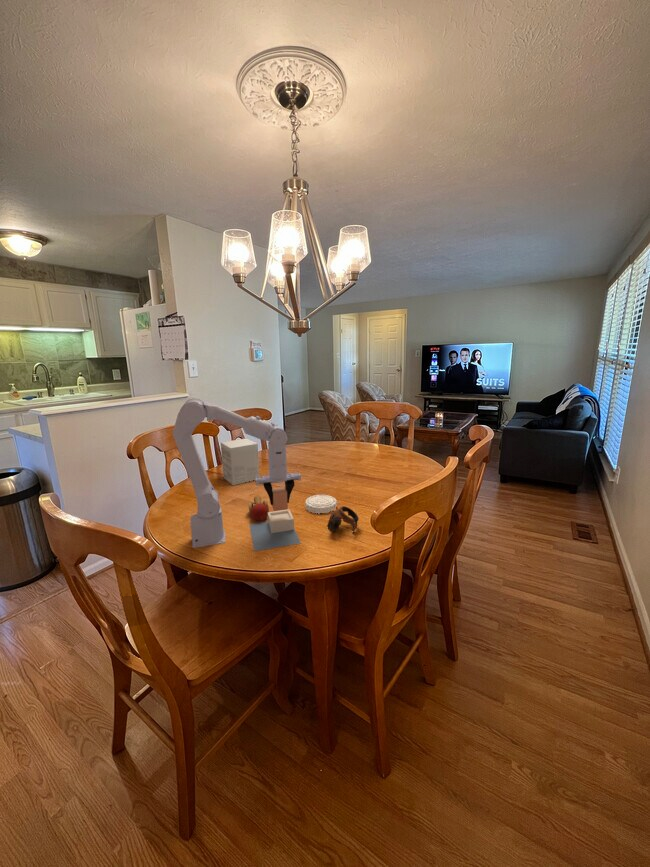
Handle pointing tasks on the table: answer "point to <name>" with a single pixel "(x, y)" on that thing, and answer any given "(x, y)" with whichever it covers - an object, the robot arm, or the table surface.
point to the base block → (280, 521)
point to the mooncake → (320, 504)
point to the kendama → (258, 509)
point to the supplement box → (240, 461)
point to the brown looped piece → (339, 514)
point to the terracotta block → (279, 499)
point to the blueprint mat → (271, 537)
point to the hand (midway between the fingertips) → (279, 502)
